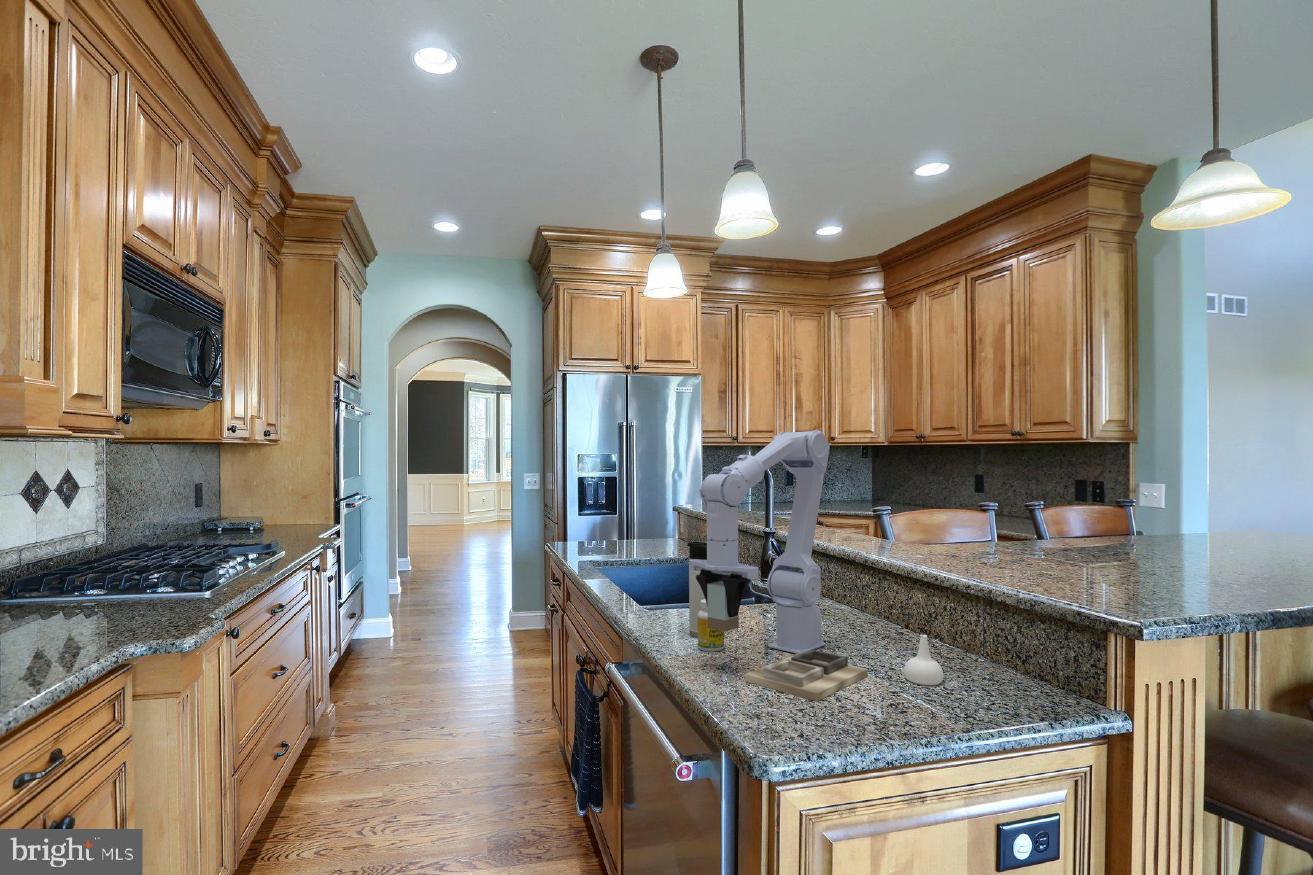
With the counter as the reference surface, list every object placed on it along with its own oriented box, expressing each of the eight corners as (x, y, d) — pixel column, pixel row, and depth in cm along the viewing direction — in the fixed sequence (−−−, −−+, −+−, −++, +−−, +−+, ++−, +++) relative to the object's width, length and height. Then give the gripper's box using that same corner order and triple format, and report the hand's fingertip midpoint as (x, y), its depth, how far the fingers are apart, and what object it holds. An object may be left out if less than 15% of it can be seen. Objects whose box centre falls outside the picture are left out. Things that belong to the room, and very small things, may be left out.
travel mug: (686, 631, 148) (685, 541, 148) (715, 630, 148) (714, 540, 149) (689, 638, 141) (689, 544, 142) (720, 637, 142) (719, 544, 143)
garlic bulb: (904, 687, 112) (903, 640, 112) (903, 672, 118) (903, 628, 118) (944, 691, 110) (943, 644, 110) (942, 676, 116) (941, 631, 116)
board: (798, 659, 126) (798, 645, 126) (867, 675, 117) (867, 660, 117) (745, 681, 114) (744, 665, 114) (817, 701, 104) (817, 683, 104)
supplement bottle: (713, 643, 138) (712, 596, 138) (729, 649, 133) (729, 601, 134) (692, 647, 135) (692, 599, 135) (708, 653, 130) (708, 604, 131)
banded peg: (721, 623, 124) (721, 580, 124) (738, 627, 121) (738, 583, 121) (707, 627, 121) (707, 583, 121) (725, 631, 118) (724, 586, 118)
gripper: (678, 538, 124) (678, 611, 123) (741, 544, 114) (741, 624, 113) (702, 535, 129) (703, 605, 128) (764, 541, 119) (765, 617, 118)
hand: (723, 614), depth 121 cm, fingers closed on banded peg, 4 cm apart
